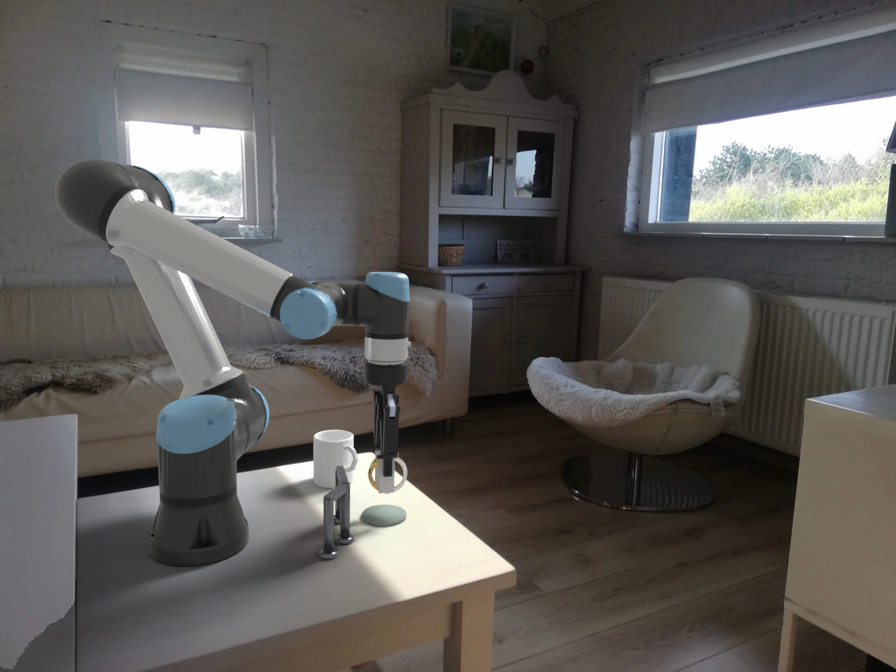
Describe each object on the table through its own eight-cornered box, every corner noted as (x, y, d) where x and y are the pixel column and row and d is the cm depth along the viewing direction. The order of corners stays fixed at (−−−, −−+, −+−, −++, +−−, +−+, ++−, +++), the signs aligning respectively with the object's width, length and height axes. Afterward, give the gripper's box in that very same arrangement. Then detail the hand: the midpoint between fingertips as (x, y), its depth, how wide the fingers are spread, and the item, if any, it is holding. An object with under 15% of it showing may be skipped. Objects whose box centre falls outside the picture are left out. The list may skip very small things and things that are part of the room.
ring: (407, 490, 120) (408, 449, 118) (405, 497, 117) (407, 455, 115) (369, 488, 120) (370, 447, 118) (367, 496, 117) (367, 453, 115)
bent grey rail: (290, 552, 104) (290, 492, 103) (336, 515, 118) (336, 463, 117) (332, 561, 102) (332, 500, 100) (373, 522, 116) (374, 469, 114)
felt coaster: (354, 521, 116) (354, 518, 116) (373, 504, 123) (373, 501, 123) (395, 529, 113) (395, 526, 113) (412, 511, 121) (412, 508, 121)
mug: (340, 497, 126) (340, 448, 125) (306, 480, 135) (305, 434, 133) (372, 487, 132) (373, 440, 131) (338, 471, 140) (338, 427, 139)
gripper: (417, 369, 107) (414, 504, 111) (398, 352, 123) (396, 471, 126) (372, 370, 105) (370, 507, 109) (358, 352, 121) (357, 473, 124)
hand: (384, 487), depth 118 cm, fingers closed on ring, 3 cm apart
